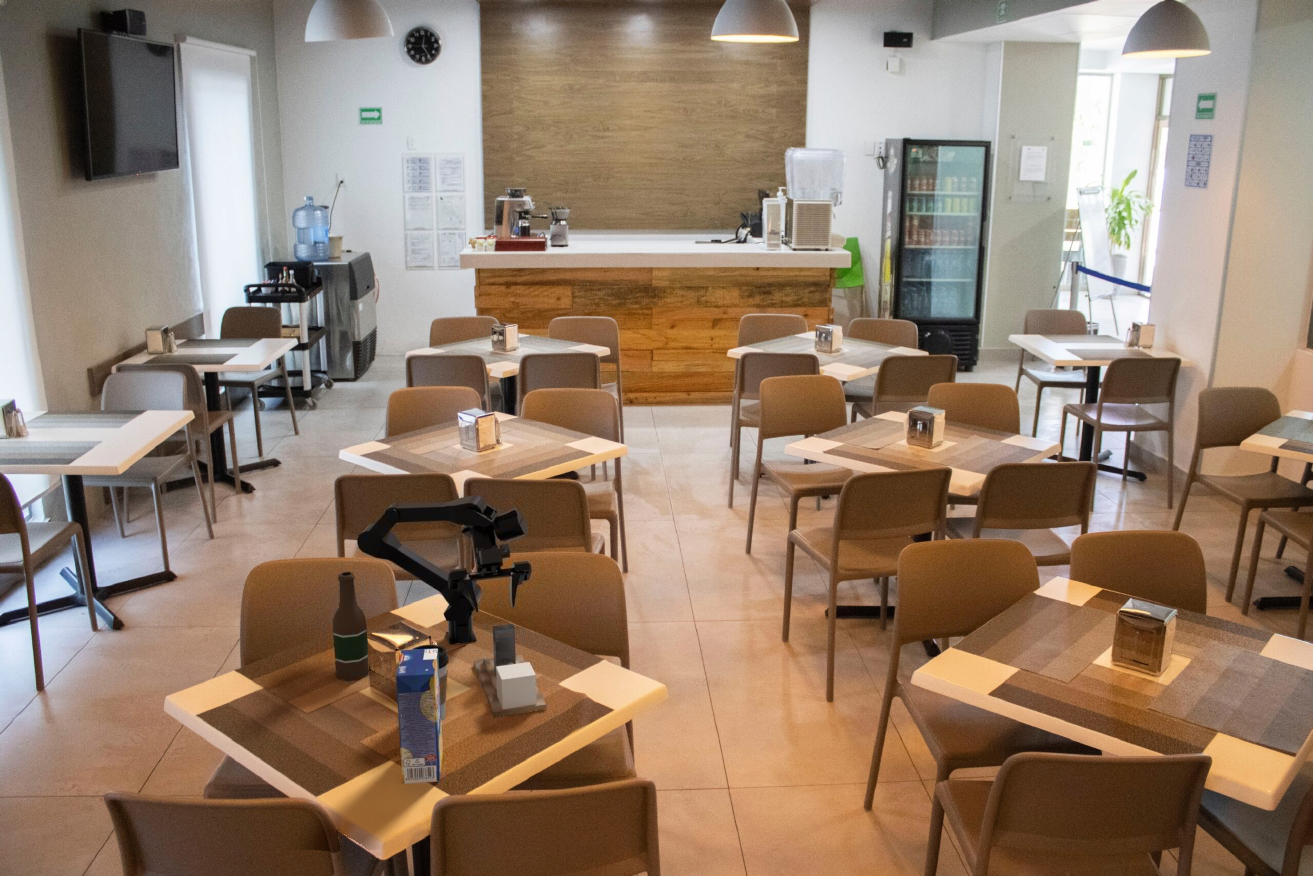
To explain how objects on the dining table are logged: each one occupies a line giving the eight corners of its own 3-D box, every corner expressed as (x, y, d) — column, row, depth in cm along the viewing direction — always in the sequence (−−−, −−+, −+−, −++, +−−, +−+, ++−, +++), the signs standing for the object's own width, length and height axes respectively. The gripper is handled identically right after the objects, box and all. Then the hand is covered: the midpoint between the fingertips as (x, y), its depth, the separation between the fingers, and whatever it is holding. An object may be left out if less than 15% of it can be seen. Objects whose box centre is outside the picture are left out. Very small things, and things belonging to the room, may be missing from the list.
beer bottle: (375, 666, 253) (369, 568, 246) (363, 682, 245) (356, 581, 239) (342, 664, 253) (335, 566, 247) (329, 680, 246) (322, 579, 240)
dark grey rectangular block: (494, 672, 247) (492, 626, 244) (513, 669, 248) (512, 623, 246) (502, 691, 238) (501, 644, 236) (522, 688, 240) (521, 641, 237)
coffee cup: (429, 731, 225) (425, 663, 221) (401, 718, 230) (397, 652, 226) (459, 715, 231) (457, 649, 228) (432, 702, 236) (429, 638, 233)
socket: (497, 695, 237) (496, 666, 235) (530, 690, 239) (529, 661, 238) (502, 709, 231) (501, 679, 230) (536, 704, 234) (535, 674, 232)
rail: (474, 665, 253) (473, 655, 253) (521, 659, 257) (521, 648, 256) (494, 717, 230) (494, 706, 230) (546, 709, 234) (546, 698, 233)
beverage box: (442, 750, 218) (437, 648, 212) (439, 781, 207) (434, 674, 202) (407, 753, 217) (401, 649, 211) (402, 784, 206) (395, 676, 201)
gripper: (447, 536, 249) (456, 601, 242) (528, 528, 255) (540, 590, 248) (444, 557, 259) (453, 620, 251) (523, 548, 264) (534, 609, 257)
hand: (495, 609), depth 252 cm, fingers open, 8 cm apart
